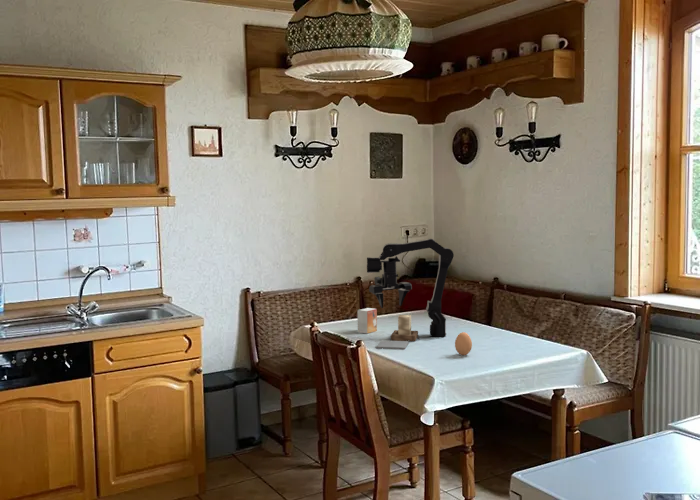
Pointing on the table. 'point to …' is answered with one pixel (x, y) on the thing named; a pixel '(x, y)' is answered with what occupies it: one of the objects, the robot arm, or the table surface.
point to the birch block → (404, 325)
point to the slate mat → (392, 344)
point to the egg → (463, 343)
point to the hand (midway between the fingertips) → (391, 306)
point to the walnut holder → (404, 336)
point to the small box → (367, 320)
